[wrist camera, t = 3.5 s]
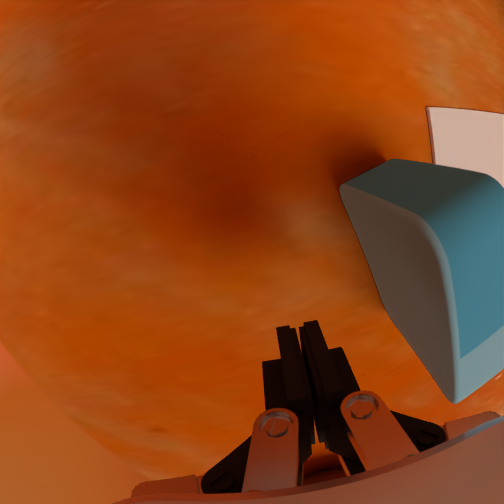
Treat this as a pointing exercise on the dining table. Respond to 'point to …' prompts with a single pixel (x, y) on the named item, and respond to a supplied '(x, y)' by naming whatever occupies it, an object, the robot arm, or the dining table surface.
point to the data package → (437, 264)
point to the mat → (468, 140)
